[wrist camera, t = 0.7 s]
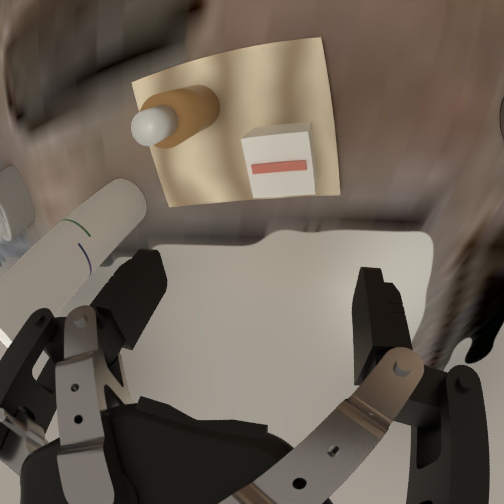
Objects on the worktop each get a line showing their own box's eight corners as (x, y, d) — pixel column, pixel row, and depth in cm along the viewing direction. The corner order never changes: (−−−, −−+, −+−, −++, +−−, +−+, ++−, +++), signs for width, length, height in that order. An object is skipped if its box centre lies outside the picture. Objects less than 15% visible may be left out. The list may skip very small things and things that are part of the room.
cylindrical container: (121, 228, 40) (13, 355, 21) (99, 187, 37) (-28, 305, 17) (155, 217, 37) (35, 365, 18) (131, 171, 34) (-18, 305, 14)
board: (320, 39, 20) (320, 37, 19) (339, 189, 29) (340, 195, 28) (139, 81, 26) (131, 82, 25) (174, 201, 35) (169, 207, 34)
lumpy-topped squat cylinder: (15, 160, 37) (-18, 181, 31) (42, 217, 44) (12, 242, 37) (-1, 176, 41) (-29, 196, 34) (23, 226, 48) (-2, 249, 41)
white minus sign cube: (310, 121, 24) (307, 132, 21) (317, 176, 28) (315, 196, 24) (253, 127, 26) (239, 139, 22) (263, 179, 29) (252, 199, 25)
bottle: (214, 80, 24) (165, 89, 16) (224, 124, 26) (182, 152, 19) (171, 91, 25) (114, 108, 18) (182, 133, 28) (131, 163, 21)
